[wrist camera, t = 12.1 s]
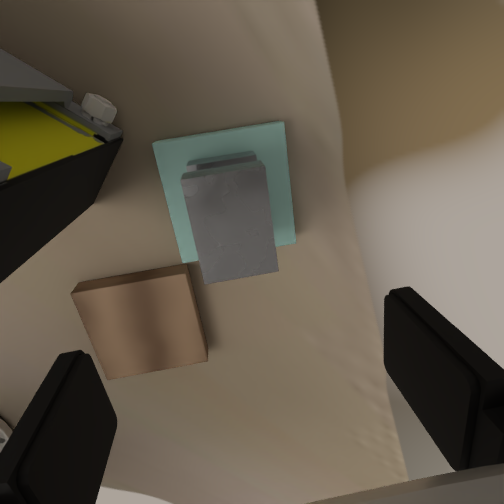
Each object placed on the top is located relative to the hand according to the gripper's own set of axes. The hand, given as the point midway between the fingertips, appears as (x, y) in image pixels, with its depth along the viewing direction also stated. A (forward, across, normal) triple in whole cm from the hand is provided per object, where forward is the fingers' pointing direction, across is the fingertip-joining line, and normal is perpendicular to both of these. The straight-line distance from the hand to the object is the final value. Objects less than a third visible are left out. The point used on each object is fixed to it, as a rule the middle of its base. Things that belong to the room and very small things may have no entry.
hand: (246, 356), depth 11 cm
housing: (+19, 0, 0) cm, 19 cm away
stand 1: (+21, +9, +11) cm, 25 cm away
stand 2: (+21, -1, 0) cm, 21 cm away
